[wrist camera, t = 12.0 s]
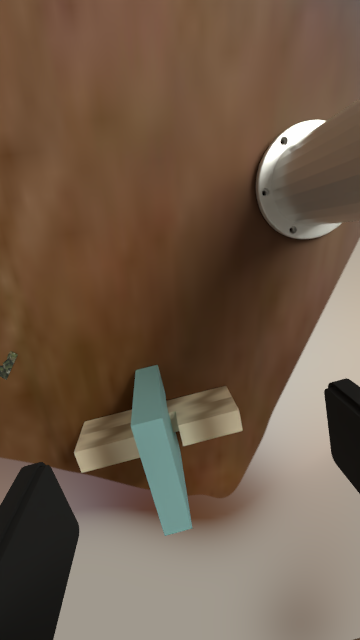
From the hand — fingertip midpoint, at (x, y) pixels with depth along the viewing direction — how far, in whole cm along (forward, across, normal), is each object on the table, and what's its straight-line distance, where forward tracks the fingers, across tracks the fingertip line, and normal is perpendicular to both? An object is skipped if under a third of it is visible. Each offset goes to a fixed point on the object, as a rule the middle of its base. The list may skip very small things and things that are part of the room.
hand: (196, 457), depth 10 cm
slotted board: (+27, +5, +16) cm, 32 cm away
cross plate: (+27, +5, +16) cm, 32 cm away
